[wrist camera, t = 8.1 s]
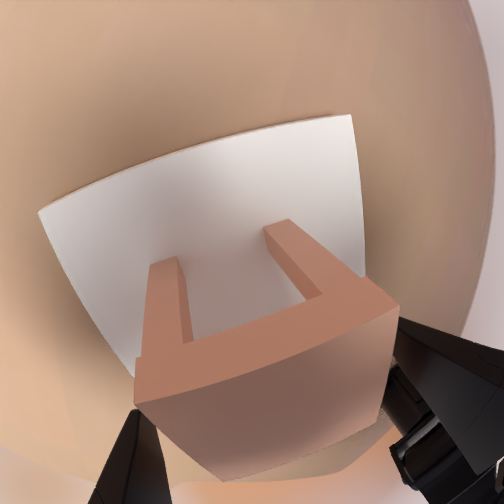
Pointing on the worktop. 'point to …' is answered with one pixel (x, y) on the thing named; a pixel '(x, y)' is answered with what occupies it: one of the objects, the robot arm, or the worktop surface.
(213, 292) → the white board
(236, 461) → the stool
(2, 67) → the worktop surface
